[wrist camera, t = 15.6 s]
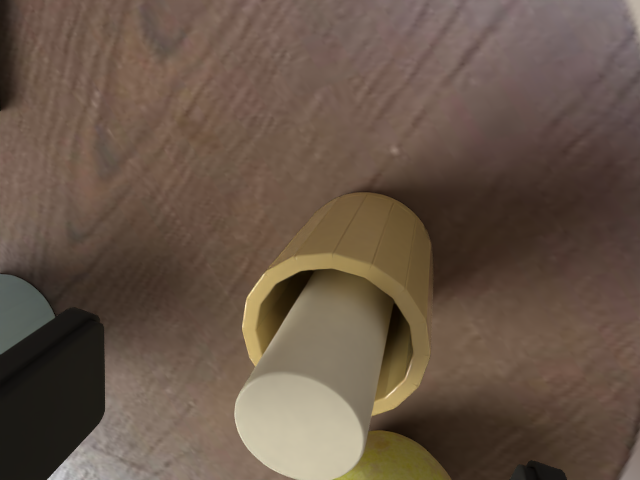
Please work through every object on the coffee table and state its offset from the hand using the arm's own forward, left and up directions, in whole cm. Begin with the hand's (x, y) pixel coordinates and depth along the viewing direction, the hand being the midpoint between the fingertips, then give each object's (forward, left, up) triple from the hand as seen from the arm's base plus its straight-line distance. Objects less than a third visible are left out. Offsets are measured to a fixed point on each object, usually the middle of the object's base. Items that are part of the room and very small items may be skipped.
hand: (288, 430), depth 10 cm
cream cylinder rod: (0, 0, -11) cm, 11 cm away
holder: (0, 0, -11) cm, 11 cm away
